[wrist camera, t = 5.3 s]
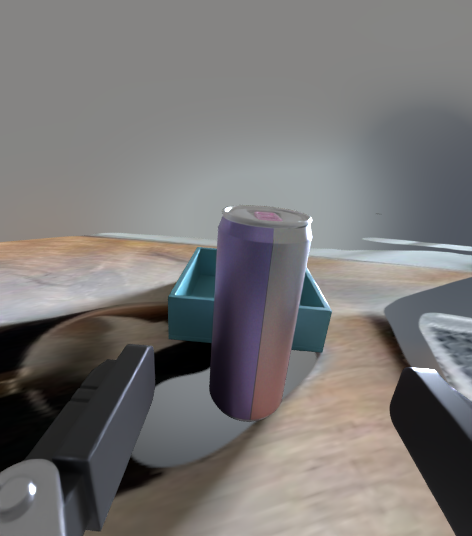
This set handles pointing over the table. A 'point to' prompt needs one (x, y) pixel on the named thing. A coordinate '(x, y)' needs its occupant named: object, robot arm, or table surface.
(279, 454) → the table surface
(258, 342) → the beverage can
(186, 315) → the box
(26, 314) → the table surface
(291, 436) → the table surface
